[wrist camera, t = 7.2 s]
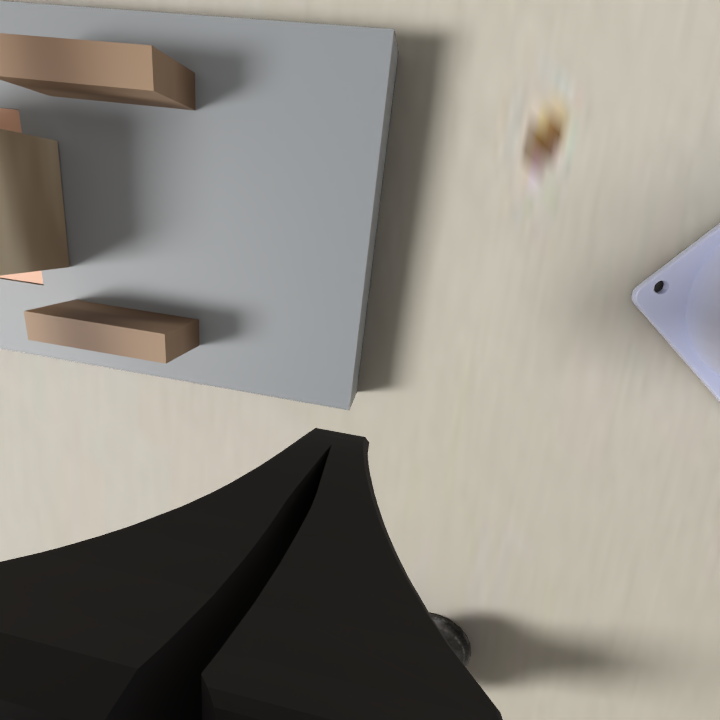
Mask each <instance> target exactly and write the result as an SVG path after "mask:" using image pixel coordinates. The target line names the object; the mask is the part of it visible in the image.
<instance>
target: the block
mask: <svg viewBox="0 0 720 720" xmlns="http://www.w3.org/2000/svg"><path fill="white" fill-rule="evenodd" d="M67 267H70V266H69V256H68V245H67V235H66V224H65V214H64V203H63V193H62V183H61V172H60V162H59V151H58V141H56V140H51V139H47V138H42V137H37V136H32V135H28V134H23V133H18V132H14V131H9V130H4V129H0V276H1V275H9V274H18V273H26V272H34V271H42V270H51V269H59V268H67Z"/></svg>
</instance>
